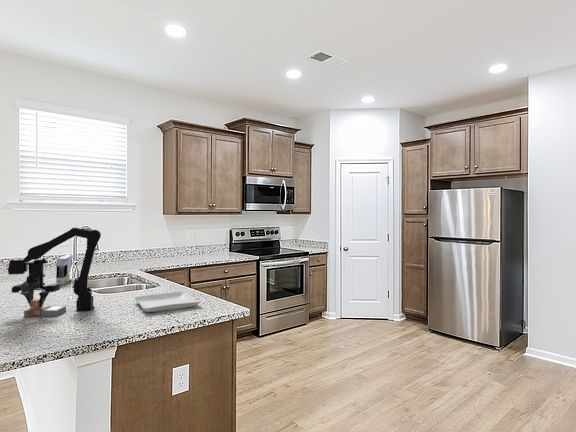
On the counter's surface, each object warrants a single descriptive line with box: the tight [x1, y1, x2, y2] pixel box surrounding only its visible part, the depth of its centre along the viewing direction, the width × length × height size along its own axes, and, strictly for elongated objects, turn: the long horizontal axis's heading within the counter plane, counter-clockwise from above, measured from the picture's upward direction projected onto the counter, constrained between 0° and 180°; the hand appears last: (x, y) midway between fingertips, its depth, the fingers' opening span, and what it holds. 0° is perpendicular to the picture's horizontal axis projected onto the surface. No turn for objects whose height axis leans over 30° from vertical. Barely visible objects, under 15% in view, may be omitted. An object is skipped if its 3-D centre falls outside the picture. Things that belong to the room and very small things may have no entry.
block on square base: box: [23, 298, 50, 317], centre depth 173 cm, size 7×8×6 cm
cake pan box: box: [55, 254, 74, 286], centre depth 248 cm, size 19×5×18 cm, turn 14°
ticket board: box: [40, 305, 67, 317], centre depth 173 cm, size 7×8×3 cm
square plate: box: [133, 291, 200, 313], centre depth 190 cm, size 27×27×4 cm
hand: (36, 306), depth 173 cm, fingers open, 4 cm apart
